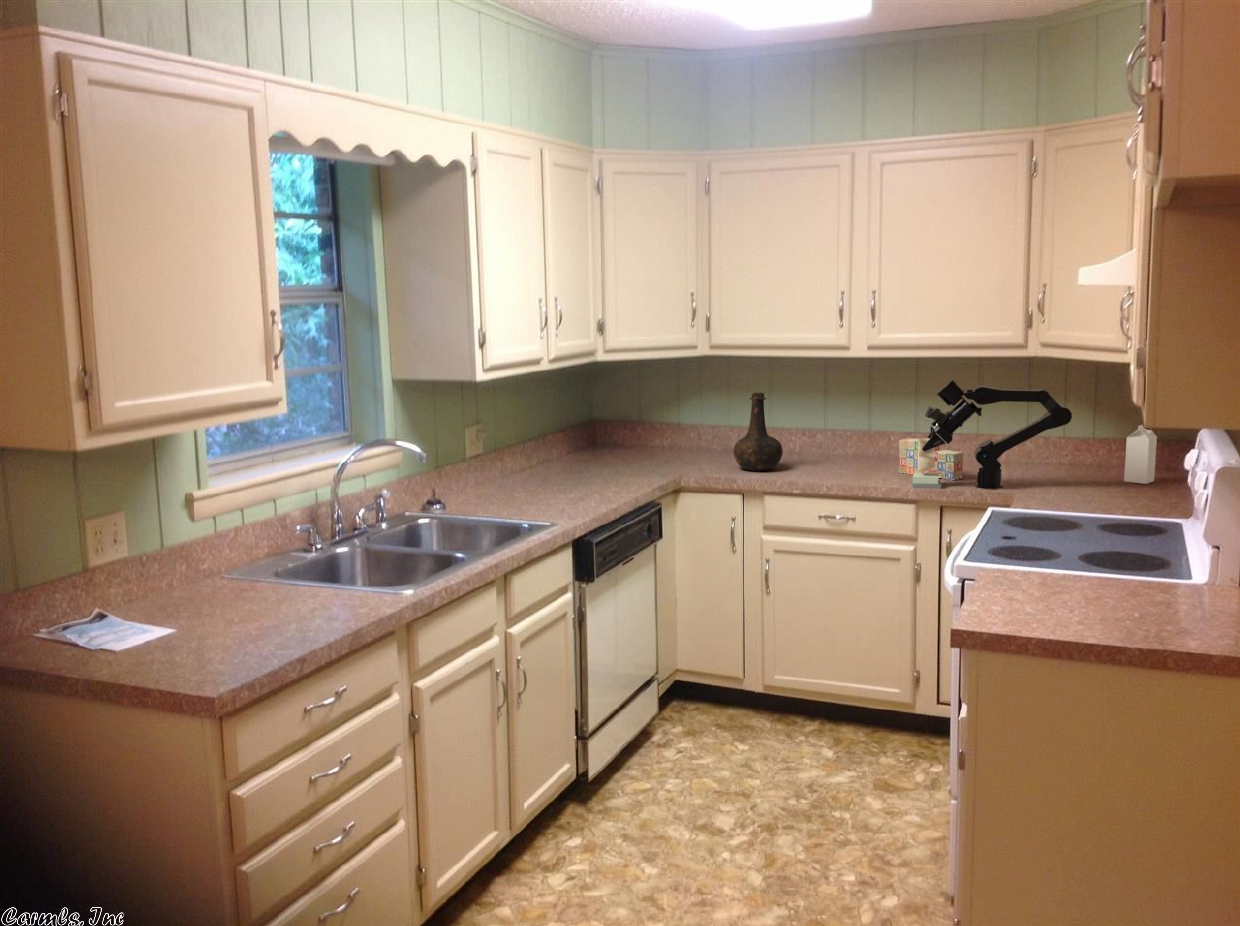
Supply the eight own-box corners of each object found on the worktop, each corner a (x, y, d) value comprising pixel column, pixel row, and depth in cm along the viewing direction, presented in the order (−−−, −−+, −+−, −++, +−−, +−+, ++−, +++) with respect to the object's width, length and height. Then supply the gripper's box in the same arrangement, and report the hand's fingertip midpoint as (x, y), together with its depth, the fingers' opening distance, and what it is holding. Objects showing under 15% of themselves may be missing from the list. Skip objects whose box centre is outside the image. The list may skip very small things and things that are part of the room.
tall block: (933, 468, 358) (934, 438, 356) (934, 470, 353) (935, 440, 351) (918, 467, 359) (918, 438, 357) (918, 470, 354) (919, 440, 352)
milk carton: (1123, 481, 357) (1127, 425, 354) (1131, 478, 362) (1135, 422, 359) (1146, 484, 352) (1150, 426, 349) (1154, 481, 357) (1157, 424, 354)
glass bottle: (760, 475, 381) (760, 396, 376) (723, 469, 394) (723, 393, 390) (792, 469, 392) (793, 392, 388) (756, 463, 406) (756, 389, 401)
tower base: (939, 485, 360) (939, 479, 360) (941, 490, 352) (941, 484, 351) (911, 485, 362) (911, 478, 362) (912, 490, 353) (912, 483, 353)
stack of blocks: (962, 478, 369) (963, 443, 367) (953, 481, 364) (954, 445, 362) (907, 471, 384) (908, 437, 382) (897, 474, 380) (898, 439, 378)
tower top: (938, 479, 359) (938, 473, 359) (938, 484, 352) (938, 477, 351) (913, 478, 362) (913, 472, 361) (912, 483, 354) (912, 476, 354)
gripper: (938, 395, 360) (903, 427, 364) (942, 401, 342) (906, 435, 346) (962, 418, 360) (927, 451, 364) (967, 426, 342) (930, 460, 346)
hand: (922, 448), depth 355 cm, fingers closed on tall block, 5 cm apart
